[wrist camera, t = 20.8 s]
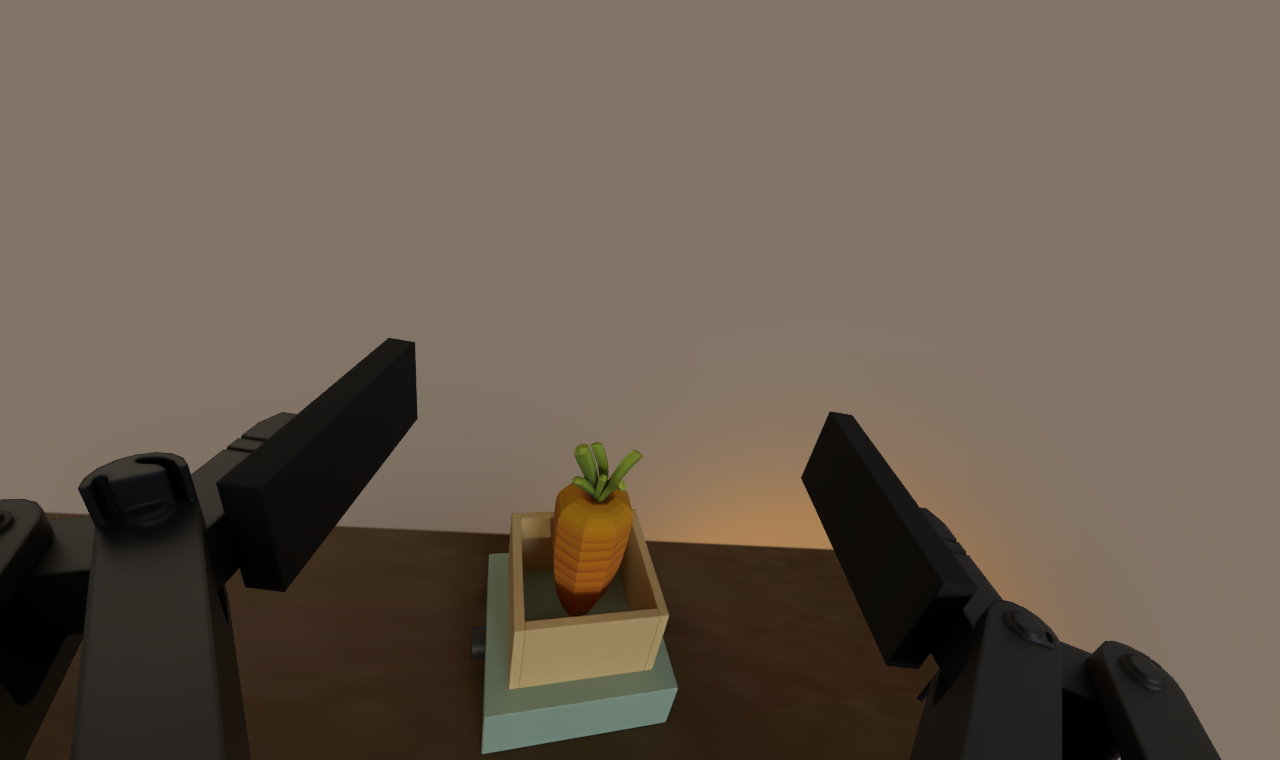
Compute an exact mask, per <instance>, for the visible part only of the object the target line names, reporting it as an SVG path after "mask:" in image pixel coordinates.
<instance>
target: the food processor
mask: <svg viewBox="0 0 1280 760" xmlns="http://www.w3.org/2000/svg"><path fill="white" fill-rule="evenodd" d="M632 512H633V523H632V527H631V530H630V534H629V538H628V541H627V545H626V548H625V551H624V554H623V558H622V561H621V564H620V566H619V568H618V570H617V572H616V574H615V576H614V578H613V580H612V582H611V584H610V585H609V587H608V589H607V591H606V592H605V594H604V595H603V596H602V597H601V598H600V599H599V600H598V602H597V603H596V604H595V605H594V606H593V607H592V608H591V609H590V610H589V611H588V613H586V614H585V615H583V616H577V617H571V616H570V615H569V614H568V613H567V612H566V611H565V609H564V608H563V607H562V605H561V603H560V601H559V598H558V596H557V591H556V585H555V576H554V562H553V545H552V544H553V527H554V515H555V512H543V513H542V512H540V513H521V514H520V513H513V514H512V519H511V532H510V544H509V553H499V554H489V564H488V583H487V609H486V626H480V627H473V632H472V650H471V660H476V659H484V658H485V666H484V695H483V723H482V752H481V753H482V754H486V753H492V752H497V751H503V750H509V749H515V748H520V747H526V746H532V745H537V744H543V743H549V742H555V741H560V740H566V739H572V738H577V737H583V736H589V735H595V734H600V733H606V732H612V731H617V730H623V729H629V728H635V727H640V726H646V725H652V724H657V723H663V722H666V720H667V717H668V714H669V711H670V709H671V706H672V703H673V701H674V698H675V695H676V692H677V690H678V687H677V683H676V680H675V677H674V673H673V670H672V666H671V663H670V660H669V656H668V653H667V649H666V646H665V643H664V639H663V633H664V630H665V627H666V624H667V621H668V617H669V614H668V611H667V608H666V604H665V601H664V598H663V595H662V592H661V589H660V586H659V583H658V580H657V576H656V573H655V570H654V567H653V564H652V561H651V558H650V555H649V551H648V548H647V545H646V542H645V539H644V536H643V533H642V530H641V526H640V523H639V520H638V517H637V514H636V511H635V509H632Z"/></svg>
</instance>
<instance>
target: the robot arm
mask: <svg viewBox="0 0 1280 760" xmlns="http://www.w3.org/2000/svg"><path fill="white" fill-rule="evenodd" d="M415 361H416V360H415V342H410V341H404V340H399V339H392V338H388V339H387V340H386V341H385V342H383V343H382V344H381V345H380V346H379V347H377V348H376V349H375V350H374V351H373V352H371V353H370V354H369V355H368V356H367V357H365V358H364V359H363V360H362V361H361V362H359V363H358V364H357V365H356V366H355V367H353V368H352V369H351V370H350V371H349V372H347V373H346V374H345V375H344V376H343V377H342V378H340V379H339V380H338V381H337V382H336V383H334V384H333V385H332V386H331V387H329V388H328V389H327V390H326V391H325V392H324V393H322V394H321V395H320V396H319V397H318V398H316V399H315V400H314V401H313V402H312V403H310V404H309V405H308V406H307V407H306V408H304V409H303V410H302V411H301V412H300V413H298V414H291V413H284V412H282V413H279V414H277V415H275V416H272V417H270V418H268V419H265V420H263V421H261V422H259V423H257V424H256V425H255V426H253V427H252V428H251V429H249V430H248V431H247V432H246V433H244V434H243V435H242V437H241V439H239V438H238V439H237V440H235V441H234V442H233V443H232V444H230V445H229V446H228V447H227V449H226V450H222V451H221V452H220V453H218V454H217V455H216V456H215V457H213V458H212V459H211V460H209V461H208V462H207V463H206V464H204V465H203V466H202V467H200V468H199V469H198V470H196V471H195V472H194V473H193V474H190V470H189V467H188V464H187V463H186V461H185V460H184V458H182V457H180V456H177V455H175V454H172V453H159V452H154V453H146V454H137V455H133V456H129V457H125V458H121V459H118V460H115V461H112V462H110V463H108V464H106V465H104V466H101V467H99V468H97V469H96V470H94V471H93V472H92V473H90V474H89V475H88V476H86V477H85V478H84V479H83V480H82V482H81V484H80V486H79V487H78V490H79V492H80V494H81V496H82V498H83V500H84V502H85V505H86V507H87V509H88V512H89V514H90V516H91V517H79V518H67V519H55V520H48V519H47V517H46V515H45V513H44V511H43V509H42V508H41V507H40V506H39V504H38V503H37V502H34V501H29V500H26V499H2V500H0V760H24V758H25V756H26V754H27V752H28V750H29V748H30V746H31V744H32V742H33V740H34V738H35V736H36V734H37V732H38V730H39V728H40V726H41V724H42V721H43V719H44V717H45V715H46V713H47V711H48V709H49V707H50V705H51V703H52V701H53V699H54V697H55V695H56V693H57V691H58V689H59V686H60V684H61V682H62V680H63V678H64V676H65V674H66V672H67V670H68V668H69V666H70V664H71V662H72V660H73V658H74V656H75V654H76V652H77V649H78V647H79V645H80V643H81V641H82V639H83V643H82V653H81V662H80V672H79V681H78V691H77V700H76V710H75V719H74V729H73V738H72V748H71V757H70V760H251V758H250V750H249V743H248V736H247V729H246V722H245V715H244V708H243V700H242V693H241V686H240V679H239V672H238V665H237V658H236V650H235V643H234V636H233V629H232V622H231V615H230V607H229V600H228V594H227V590H226V587H225V583H226V582H227V581H228V580H229V579H230V578H231V577H232V575H233V574H234V573H235V572H236V571H237V570H238V569H239V568H240V570H241V574H242V577H243V581H244V585H245V587H247V588H255V589H264V590H272V591H280V592H285V591H286V589H287V588H288V587H289V586H290V584H291V583H292V582H293V580H294V579H295V578H296V576H297V575H298V574H299V573H300V571H301V570H302V569H303V567H304V566H305V565H306V563H307V562H308V561H309V559H310V558H311V557H312V556H313V554H314V553H315V552H316V550H317V549H318V548H319V546H320V545H321V544H322V542H323V541H324V540H325V539H326V537H327V536H328V535H329V533H330V532H331V531H332V529H333V528H334V527H335V526H336V524H337V523H338V522H339V520H340V519H341V518H342V516H343V515H344V514H345V512H346V511H347V510H348V509H349V507H350V506H351V505H352V503H353V502H354V501H355V499H356V498H357V497H358V495H359V494H360V493H361V492H362V490H363V489H364V488H365V486H366V485H367V484H368V482H369V481H370V480H371V479H372V477H373V476H374V475H375V473H376V472H377V471H378V469H379V468H380V467H381V466H382V464H383V463H384V462H385V460H386V459H387V458H388V456H389V455H390V454H391V452H392V451H393V450H394V448H395V447H396V446H397V445H398V443H399V442H400V441H401V439H402V438H403V437H404V435H405V434H406V433H407V432H408V430H409V429H410V428H411V426H412V425H413V423H414V422H415V421H416V420H417V392H416V362H415ZM801 479H802V481H803V483H804V485H805V487H806V489H807V492H808V494H809V496H810V498H811V501H812V503H813V505H814V507H815V509H816V511H817V514H818V516H819V518H820V520H821V523H822V525H823V527H824V529H825V531H826V534H827V536H828V538H829V540H830V542H831V545H832V547H833V549H834V551H835V553H836V556H837V558H838V560H839V562H840V564H841V567H842V569H843V571H844V573H845V575H846V578H847V580H848V582H849V584H850V586H851V588H852V591H853V593H854V595H855V597H856V599H857V602H858V604H859V606H860V608H861V610H862V613H863V615H864V617H865V619H866V621H867V624H868V626H869V628H870V630H871V632H872V635H873V637H874V639H875V641H876V643H877V646H878V648H879V650H880V652H881V654H882V657H883V659H884V661H885V663H886V665H887V666H895V667H903V668H911V669H919V667H920V666H921V665H922V663H923V662H924V661H925V659H926V658H927V657H928V655H929V654H930V653H931V654H932V655H933V657H934V659H935V661H936V663H937V665H938V666H939V668H940V669H939V670H938V671H937V673H936V674H935V675H934V677H933V678H932V679H931V680H930V682H929V683H928V684H927V685H926V687H925V688H924V689H923V691H922V692H921V693H920V695H919V696H918V697H917V699H918V700H920V701H921V702H922V701H923V700H924V699H925V698H926V697H927V699H926V702H925V706H924V709H923V713H922V717H921V720H920V724H919V727H918V731H917V734H916V738H915V742H914V745H913V749H912V752H911V756H910V759H909V760H1117V759H1118V758H1120V757H1121V760H1221V758H1220V757H1219V755H1218V753H1217V751H1216V749H1215V748H1214V746H1213V744H1212V742H1211V741H1210V739H1209V737H1208V735H1207V733H1206V732H1205V730H1204V728H1203V726H1202V725H1201V723H1200V721H1199V719H1198V717H1197V715H1196V714H1195V712H1194V710H1193V708H1192V707H1191V705H1190V703H1189V701H1188V700H1187V698H1186V696H1185V694H1184V692H1183V691H1182V689H1181V688H1180V687H1179V685H1178V684H1177V683H1176V681H1175V680H1174V679H1173V678H1172V677H1171V676H1170V675H1169V674H1168V673H1167V672H1166V671H1165V670H1164V669H1163V668H1162V667H1161V666H1160V665H1159V664H1158V663H1156V662H1155V661H1154V660H1151V659H1150V657H1148V656H1146V655H1145V654H1143V653H1142V652H1139V651H1137V650H1135V649H1133V648H1132V647H1130V646H1128V645H1125V644H1122V643H1119V642H1115V641H1105V642H1104V643H1103V644H1102V645H1101V646H1100V647H1099V648H1098V649H1097V650H1096V651H1095V652H1094V653H1093V654H1091V653H1089V652H1086V651H1083V650H1081V649H1078V648H1076V647H1073V646H1070V645H1068V644H1065V643H1063V642H1060V641H1059V639H1058V638H1057V636H1056V635H1055V634H1054V632H1053V631H1052V629H1051V628H1050V627H1049V626H1048V625H1046V624H1045V623H1044V622H1043V621H1042V620H1041V619H1040V618H1039V617H1037V616H1036V615H1035V614H1033V613H1032V612H1030V611H1028V610H1027V609H1026V608H1024V607H1021V606H1019V605H1017V604H1015V603H1013V602H1009V601H1005V600H1003V599H1002V598H1001V597H1000V596H999V594H998V593H997V592H996V590H995V589H994V588H993V586H992V585H991V584H990V582H989V581H988V580H987V579H986V577H985V576H984V575H983V573H982V572H981V571H980V569H979V568H978V567H977V565H976V564H975V563H974V562H973V560H972V559H971V558H970V556H969V555H966V551H965V550H964V549H963V547H962V546H961V545H960V543H959V542H956V538H955V537H954V535H953V534H952V533H951V531H950V530H949V529H948V527H947V526H946V525H945V524H944V523H943V522H942V521H941V520H940V519H939V518H937V517H936V516H935V515H934V514H933V513H931V512H930V511H929V510H928V509H926V508H920V507H919V506H918V505H917V503H916V502H915V500H914V499H913V498H912V497H911V495H910V494H909V492H908V491H907V490H906V488H905V487H904V485H903V484H902V483H901V481H900V480H899V479H898V477H897V476H896V474H895V473H894V472H893V470H892V469H891V468H890V466H889V465H888V464H887V462H886V461H885V459H884V458H883V457H882V455H881V454H880V453H879V451H878V450H877V448H876V447H875V446H874V444H873V443H872V442H871V440H870V439H869V437H868V436H867V435H866V434H865V432H864V431H863V429H862V428H861V427H860V425H859V424H858V422H857V421H856V420H855V418H854V417H853V416H852V415H848V414H842V413H836V412H829V415H828V417H827V419H826V422H825V424H824V426H823V428H822V431H821V433H820V435H819V438H818V440H817V442H816V445H815V447H814V449H813V452H812V454H811V456H810V458H809V461H808V463H807V465H806V468H805V470H804V473H803V475H802V477H801Z"/></svg>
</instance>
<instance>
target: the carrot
mask: <svg viewBox="0 0 1280 760" xmlns="http://www.w3.org/2000/svg"><path fill="white" fill-rule="evenodd" d="M591 446H592V449H593V453H594V455H595V458H596V461H597V463H598V470H599V477H600V478H598V474H597V469H596V464H595V461H594V458H593V455H592V452H591V450H590V448H589V445H587V444H581V445H578V446H577V447H576V449H575V458H576V460H577V463H578V464H579V466H580V468H581V470H582V473H583V475H584V477H583V478H582V477H578V476H577V477H574V478H573V479H572V483H571V484H570V485H568V486H567V487H566V488H564V489H563V490H561V491H560V492H559V494H558V496H557V499H556V505H555V515H554V527H553V544H552V545H553V562H554V576H555V585H556V591H557V596H558V598H559V601H560V603H561V605H562V607H563V608H564V609H565V611H566V612H567V613H568V614H569V615H570V616H571V617H577V616H583V615H585V614H586V613H588V611H589V610H590V609H591V608H592V607H593V606H594V605H595V604H596V603H597V602H598V600H599V599H600V598H601V597H602V596H603V595H604V594H605V592H606V591H607V589H608V587H609V585H610V584H611V582H612V580H613V578H614V576H615V574H616V572H617V570H618V568H619V566H620V564H621V561H622V558H623V554H624V551H625V548H626V545H627V541H628V538H629V534H630V530H631V527H632V523H633V512H632V508H631V504H630V500H629V497H628V493H627V491H626V490H625V488H626V483H625V482H624V481H622V480H621V479H622V478H623V477H624V476H625V475H626V473H627V472H628V471H629V470H630V469H631V468H632V467H633V465H634V464H636V463H637V462H638V461H639V460H640V459H641V458H642V457H643V456H642V455H641V453H640V452H638V451H636V450H633V451H632V452H631V453H629V454H628V455H627V456H626V457H625V458H624V459H623V460H622V462H621V463H620V464H619V466H618V467H617V469H616V470H615V471H614V473H613V474H612V476H611V477H610V479H609V480H608V461H607V457H606V454H605V451H604V448H603V446H602V443H598V442H595V443H593V444H591Z"/></svg>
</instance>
